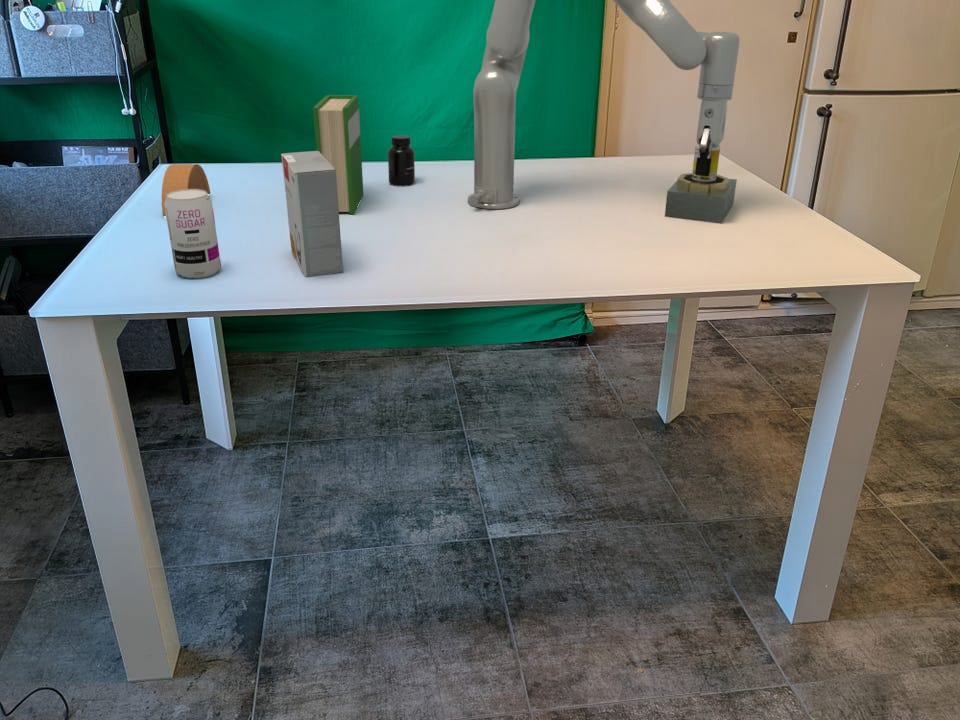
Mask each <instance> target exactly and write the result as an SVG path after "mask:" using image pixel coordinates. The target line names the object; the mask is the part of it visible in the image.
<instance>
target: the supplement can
mask: <svg viewBox="0 0 960 720" xmlns="http://www.w3.org/2000/svg"><path fill="white" fill-rule="evenodd" d="M166 196H167V197H166V200H165V203H164V206H165V212H166V218H167V219H166V223H167V230H168V234H169V235H168V236H169V241H170V247H171V252H172V259H173V264H174V265H173V266H174V271H175V273H176V274H178V275H179V276H180V275H181V276H180V277H182V278H184V277H186V279H191V278H194V280H195V279H204V278H208V277H209V278H210V277H212V276H214V275H216V274H217V273H218V272H219V271H220V269H221V267H222V264H221V257H220V248H219V243H218V235H217V229H216V228H217V227H216V221H215V214H214V206H213V201H212V199H211V198H210V197H211V196H210V197H209V196H208V195H207V192H206V191H204V190H200V189H183V190H177V191H173V192H170V193H168V194H167V195H166Z"/></svg>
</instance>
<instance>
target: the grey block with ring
mask: <svg viewBox="0 0 960 720" xmlns="http://www.w3.org/2000/svg"><path fill="white" fill-rule="evenodd" d="M737 182H738V180H737V179H736V178H729V177H726V176H723V175H720V174H717V176H716V180H715V181H713V182H698V181H695V180H693V179H692V172H690V173H689V172H687V173H682V174H680V175H679V176H678V177H677V180H676V181H675V182H674V183H673V184H672V185H671V187H670V188H669V189H668V190H667V193H666V201H665V209H664V217H665V218H672V219H673V218H674V219H681V220H689V221H696V222H697V221H698V222H707V223H714V224H720V225H721V224H723V223H724V221H725V219H726V217H727V216H728V214H729V212H730V211H731V209H732V207H733V205H734V202H735V196H736V195H735V194H736V189H737V188H736V187H737Z"/></svg>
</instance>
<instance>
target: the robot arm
mask: <svg viewBox="0 0 960 720" xmlns="http://www.w3.org/2000/svg"><path fill="white" fill-rule="evenodd" d="M612 1H613V2H614V3H615V4H616V5H617V6H618V7H619V9H621V11H622V12H623V13H624V14H625V16H627V17H628V18H629V20H631V21H632V23H634V24H635V25H636V26H637V27H638V28H640V29H641V30H642V31H643V32H645V34H646V35H647V36H648V38H650V39H651V40H652V41H653V42H654V43H655V44H656V46H657V47H658V48H659V49H660V50H661V51H662V53H664V54H665V56H666V57H667V58H668V59H669V60H670V62H672V64H673V65H674V66H675V67H676V68H678V69H679V70H683V71H691V70H695V69H697V68H698V67H699V66H700V71H699V79H698V86H697V87H698V88H697V95H696V98H697V99H699V100H701V103H700V109H699V117H698V124H697V132H696V144H700V145H699V151H698V157H697V161H696V169H695V175H700V176H709V174H710V166H711V159H712V158H710V157H711V151H712V146H713V144H715V146H718V145H720V144H721V143H722V142H723V141H724V138H725V130H726V129H725V128H726V119H727V111H728V110H727V109H728V101H731V100H732V99H733V98H732V97H733V90H734V86H735V85H734V83H735V77H736V69H737V61H738V57H739V51H740V50H739V49H740V40H741V38H740V36H739V35H738V34H737V33H734V32H732V31H731V32H729V31H713V32H702V31H697V30H696V29H695V28H694V27H693V26H692V25H691V23H690V22H689V21H688V20H687V19H686V18H685V17H684V16H683V15H682V13H681V12H680V11H679V10H678V9H677V7H675V5H674V4H673V3H672V2H671V1H670V0H612ZM535 4H536V0H494V4H493V10H492V14H491V18H490V22H489V25H488V28H487V32H486V37H485V38H486V39H485V40H486V45H485V50H484V53H483V60H482V64H481V69H480V72H479V73H478V74H477V76H476V78H475V81H474V85H473V91H472V93H473V94H472V95H473V98H472V99H473V101H472V102H473V116H474V117H473V118H474V119H473V121H474V125H473V127H474V130H473V131H474V132H473V133H474V137H473V138H474V139H473V141H474V149H473V150H474V153H473V154H474V158H473V159H474V160H473V161H474V162H473V163H474V167H473V171H474V172H473V173H474V174H473V181H474V182H473V183H474V184H473V185H474V186H473V193H472V194H470V195H468V196H467V203H468V204H469V205H470V206H472V207H476V208H479V209H485V210H486V209H487V210H488V209H489V210H503V209H508V208H513V207H516V206H518V205H519V204H520V201H521V199H520V196H518V195H517V194H516V193H515V194H514V183H515V181H514V180H515V179H514V177H515V149H516V148H515V147H516V146H515V145H516V142H515V141H516V139H515V138H516V135H515V134H516V102H517V101H516V99H517V91H518V88H519V84H520V78H521V74H522V71H523V66H524V62H525V59H526V54H527V50H528V46H529V41H530V34H531V33H530V24H531V19H532V15H533V12H534V8H535ZM700 138H701V139H700ZM707 142H711V144H707ZM707 147H709V150H708V148H707Z"/></svg>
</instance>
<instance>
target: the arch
mask: <svg viewBox="0 0 960 720" xmlns="http://www.w3.org/2000/svg"><path fill="white" fill-rule="evenodd" d="M207 177H208V176H207V175H206V173H205V170H204V169H203V167H202V166H201V165H200V164H197V163H189V164H188V163H175V164H174V163H171V164H170V165H168V167H167V168H166V170H165V172H164V175H163V179H162V185H161V212H162V213H161V214H162V217H163V216H166V212H165V206H164V203H165V200H166V197H167V196H166V195H167V194H168V193H170V192H173V191H177V190H183V189H200V190H204V191H206V192H207V194H210V193H211V189H210V184H209V180H208V178H207Z"/></svg>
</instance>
